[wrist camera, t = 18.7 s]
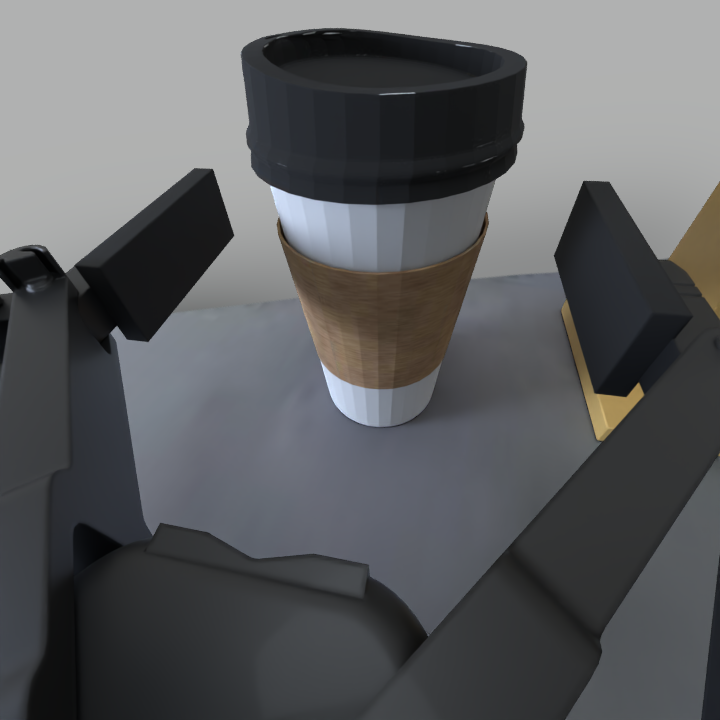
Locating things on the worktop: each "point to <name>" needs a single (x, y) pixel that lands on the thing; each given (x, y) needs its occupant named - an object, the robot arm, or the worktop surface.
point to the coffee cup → (381, 193)
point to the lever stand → (711, 276)
